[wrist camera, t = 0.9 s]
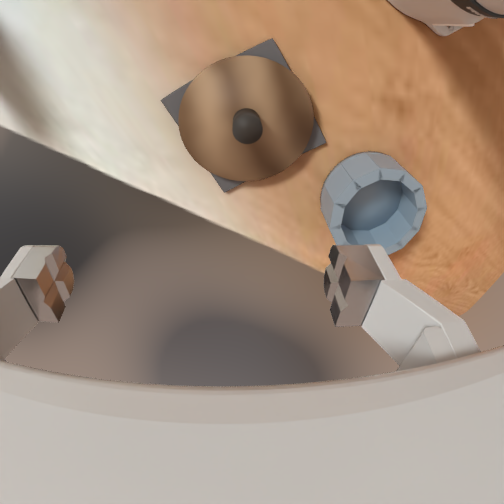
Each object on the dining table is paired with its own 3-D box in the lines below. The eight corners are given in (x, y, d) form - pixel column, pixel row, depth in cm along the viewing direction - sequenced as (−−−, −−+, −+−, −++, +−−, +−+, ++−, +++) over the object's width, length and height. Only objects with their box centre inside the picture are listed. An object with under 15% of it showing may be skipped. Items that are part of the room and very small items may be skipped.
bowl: (394, 136, 38) (414, 152, 33) (414, 212, 45) (431, 234, 41) (305, 176, 41) (314, 197, 36) (338, 247, 49) (348, 272, 44)
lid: (274, 33, 29) (280, 31, 25) (331, 144, 38) (343, 159, 34) (155, 99, 33) (143, 108, 29) (222, 196, 42) (221, 217, 38)
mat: (271, 38, 30) (272, 38, 29) (325, 141, 38) (326, 142, 38) (161, 99, 34) (160, 100, 33) (224, 190, 42) (224, 192, 42)
